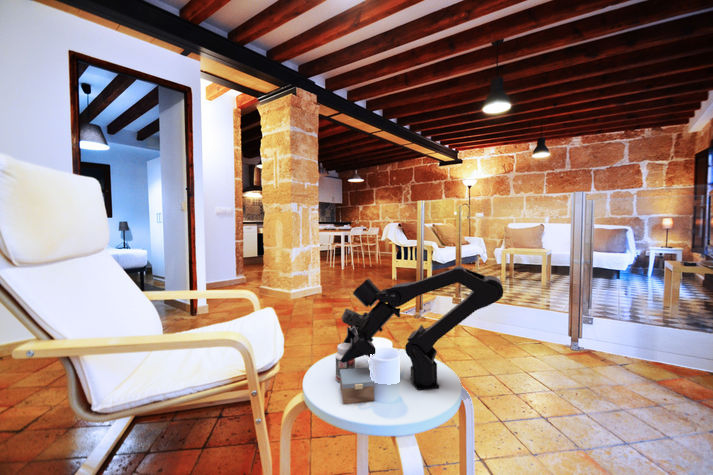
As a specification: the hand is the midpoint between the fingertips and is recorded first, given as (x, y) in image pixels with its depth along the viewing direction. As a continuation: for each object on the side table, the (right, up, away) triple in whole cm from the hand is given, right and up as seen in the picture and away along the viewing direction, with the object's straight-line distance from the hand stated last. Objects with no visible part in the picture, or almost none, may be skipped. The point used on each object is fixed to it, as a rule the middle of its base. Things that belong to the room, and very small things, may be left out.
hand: (340, 357), depth 89 cm
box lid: (+5, -3, -8) cm, 10 cm away
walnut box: (+5, -7, -8) cm, 11 cm away
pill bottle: (+1, -7, +1) cm, 7 cm away
